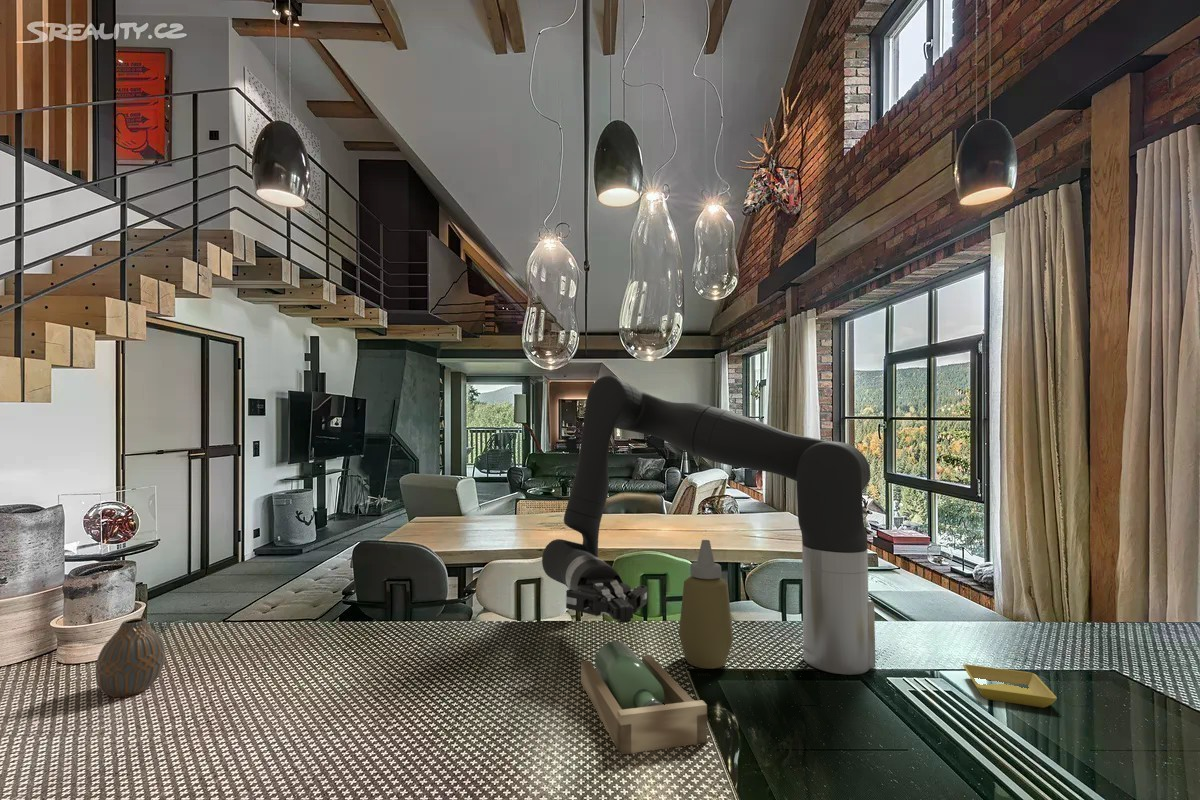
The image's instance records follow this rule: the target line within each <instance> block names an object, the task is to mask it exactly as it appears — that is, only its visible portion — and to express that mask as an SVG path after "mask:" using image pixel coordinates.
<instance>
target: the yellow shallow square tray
mask: <svg viewBox="0 0 1200 800" xmlns="http://www.w3.org/2000/svg"><path fill="white" fill-rule="evenodd" d="M962 666H963V668H964V669H965V671H966V673H967V675H968V676H969V677H970V678H969V679H971V681H972V683H973V684H974V687H976V689H977V690H978V692H979V693H980V695H981V696H982V697H983V698H984V699H986V700H990V701H998V702H1002V703H1003V702H1004V703H1011V704H1017V705H1024V706H1030V707H1036V708H1043V709H1044V708H1047V707H1050V706H1051V705H1052V704H1053V703H1054V702H1056V701H1057V699H1058V697H1057V696H1056V695H1055V694H1054V693H1053V691H1052V690H1050V688H1049V687H1048V686H1047V685H1046V684H1045V683H1044V681H1042V679H1041V678H1040V677H1039V676H1038V675H1037V674H1035V673H1033V672H1029V671H1021V670H1014V669H1008V668H1007V669H1005V668H998V667H990V666H982V665H975V664H963V665H962ZM974 678H978V679H979V678H980V679H986V680H991V681H997V682H998V681H999V682H1002V683H1003V682H1004V683H1014V684H1022V685H1023V684H1024V685H1028V687H1029V688H1028V689H1027V688H1024V687H1023V688H1021V687H1019V686H1014V685H1012V684H1011V685H1008V684H1007V685H1006V684H998V685H997V684H994V685H993V684H990V685H989V684H987V685H986V684H983V685H980V684H978V683H977V682H976V681H975V679H974Z"/></svg>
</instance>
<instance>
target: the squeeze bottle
mask: <svg viewBox="0 0 1200 800" xmlns="http://www.w3.org/2000/svg"><path fill="white" fill-rule="evenodd" d="M689 569H690V570H689V572H690V573H689V574H690V576H688V577H687V578H686V579H685V580H684V581H683V588H682V589H683V590H682V599H681V600H682V601H681V609H680V619H679V626H678V627H679V630H678V637H679V640H680V644H681V648H682V651H683V653H684V657H685V660H686V662H687V663H688V664H689V665H690V666H694V667H696V668H700V669H710V670H711V669H720V668H722V667H724V666H725V665H726V664H727V663H726V662H727V660H728V656H729V654H730V651H731V647H732V645H733V641H734V633H733V624H732V614H731V605H730V603H731V602H730V595H729V584H728V583H727V581H726V580H724V579H723V578H721V577H722V565H720V564H719V563H716V562H715V559H714V555H713V551H712V545H711V541H710V540H709V539H702V540H701V542H700V548H699V552H698V557H697V561H694V562H691V563H690V565H689Z"/></svg>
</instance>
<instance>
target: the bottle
mask: <svg viewBox="0 0 1200 800" xmlns="http://www.w3.org/2000/svg"><path fill="white" fill-rule="evenodd" d="M594 661H595V662H594V665H595V666H594V668H595V669H596V671H597V672H598V674H599V675H600V677H601V678H602V680H603V681H604V683H605V684H606V686H607V688H608V689H609V691H610V692H611V694H612V695H613V697H614V698H615V700H616V701H617V703H618V704H619V706H620V707H621V709H622V710H623V709H631V708H640V707H648V706H656V705H664V704H663V703H664V691H663V688H662V686H661V684H660V683H659V682H658V680H657V679H656V678H655V677H654V676H653V675H652V674H651V672H650V671H649V670H648V669H647V668H646V667H645V665H644V664H643V663H642V660H641V659H639V657H638V656H637V655H636V654H635V653H634V652H633V650H632V649H631V647H629V646H628V645H627V643H625V642H623V641H621V640H611V641H608V642H606V643H605V644H604V645H602V646H601V647H600V648H599V650H598V651H597V653H596V655H595V660H594Z"/></svg>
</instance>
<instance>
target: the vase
mask: <svg viewBox="0 0 1200 800" xmlns="http://www.w3.org/2000/svg"><path fill="white" fill-rule="evenodd" d="M165 650H166V649H165V645H164V642H163V639H162V637H161V636H160V635H159V634H158V633H157V632H156V631H155V630H154V629H153V627H151V626H150V625H149V623H148V621H147V619H146V618H143V617H138V618H136V617H135V618H130V619H127V620H124V621H123V622H121V624H120V626H119V628H118V629H117V631H116V632H115V633H114V634H113V635H112V636H111V637H110V638H109V639H108V641H106V642H105V644H104V646H103V647H102V648H101V650H100V653H99V655H98V657H97V659H96V664H95V680H96V683H97V685H98V686H97V687H99V689H100V690H101V691H102V692H103V693H104V694H105V695H108V696H109V697H112V698H123V697H129V696H133V695H136V694H139V693H142V692H144V691H146V690H147V689H148V688H150V687H151V686H152V685H153V684H154V683H155V681H157V679H158V678H159V676H160V674H161V673H162V670H163V667H164V664H165V659H166V657H165V656H166V651H165Z"/></svg>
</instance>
